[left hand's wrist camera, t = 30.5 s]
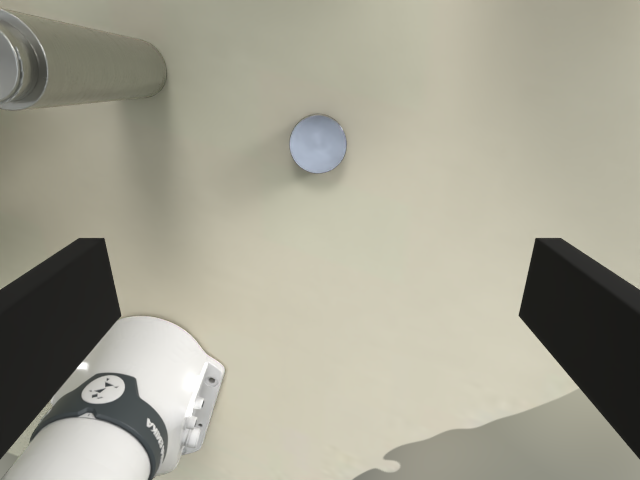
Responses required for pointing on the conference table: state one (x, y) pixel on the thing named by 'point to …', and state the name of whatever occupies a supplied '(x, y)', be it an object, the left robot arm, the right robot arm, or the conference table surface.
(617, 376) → the left robot arm
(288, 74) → the conference table surface
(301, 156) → the lid
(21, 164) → the conference table surface
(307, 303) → the conference table surface
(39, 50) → the thermos bottle
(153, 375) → the right robot arm
